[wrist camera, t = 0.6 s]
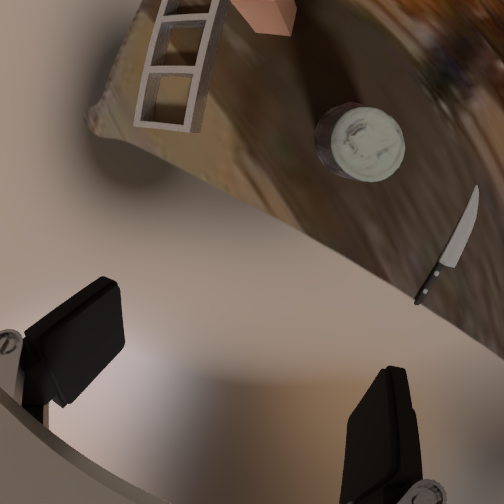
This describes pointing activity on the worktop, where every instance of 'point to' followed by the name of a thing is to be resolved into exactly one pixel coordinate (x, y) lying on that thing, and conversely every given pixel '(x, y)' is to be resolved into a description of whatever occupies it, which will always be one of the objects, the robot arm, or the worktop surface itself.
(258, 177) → the worktop surface
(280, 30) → the square peg
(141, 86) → the hole rail
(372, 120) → the sauce bottle
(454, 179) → the worktop surface
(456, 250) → the chef's knife
